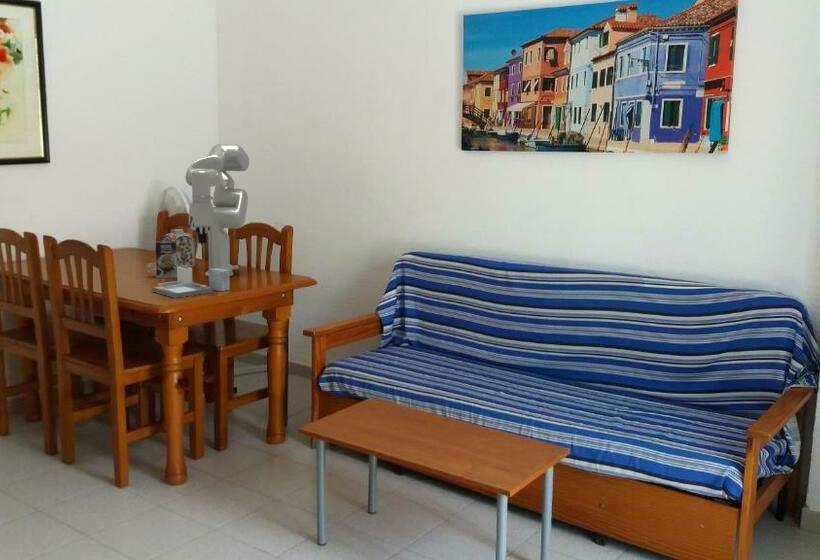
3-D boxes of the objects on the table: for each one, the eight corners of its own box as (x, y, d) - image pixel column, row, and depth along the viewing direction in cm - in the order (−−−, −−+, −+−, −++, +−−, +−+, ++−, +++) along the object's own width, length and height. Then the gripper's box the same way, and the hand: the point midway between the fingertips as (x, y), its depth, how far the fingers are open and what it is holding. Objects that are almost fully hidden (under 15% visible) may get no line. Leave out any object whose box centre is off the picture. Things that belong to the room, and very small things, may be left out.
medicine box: (229, 290, 342) (229, 269, 341) (222, 291, 339) (222, 271, 337) (216, 287, 346) (215, 267, 345) (208, 289, 342) (208, 269, 341)
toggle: (185, 282, 344) (185, 264, 342) (192, 284, 340) (192, 266, 339) (177, 283, 341) (177, 265, 339) (184, 285, 337) (183, 267, 336)
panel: (190, 286, 347) (189, 279, 347) (213, 292, 336) (212, 285, 335) (152, 291, 334) (152, 284, 333) (174, 298, 323) (174, 290, 322)
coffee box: (156, 278, 363) (155, 242, 360) (156, 275, 369) (155, 240, 366) (177, 277, 365) (176, 242, 362) (177, 275, 371) (176, 240, 368)
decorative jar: (195, 266, 394) (195, 230, 390) (173, 269, 386) (172, 231, 382) (184, 263, 402) (183, 227, 399) (162, 265, 395) (161, 229, 391)
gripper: (211, 198, 348) (212, 240, 352) (181, 199, 337) (182, 243, 341) (221, 199, 343) (222, 242, 347) (191, 201, 332) (192, 245, 336)
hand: (202, 242), depth 344 cm, fingers closed
